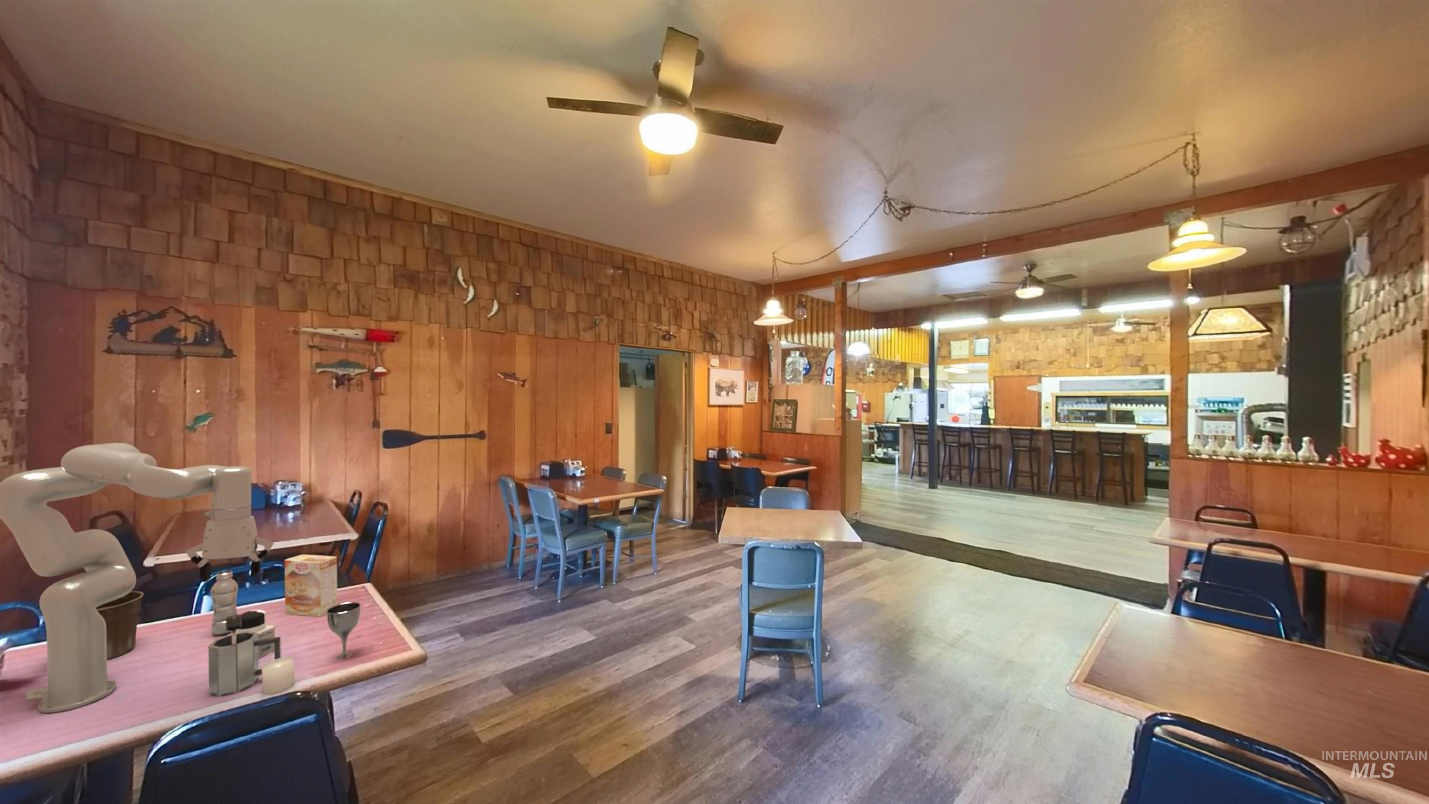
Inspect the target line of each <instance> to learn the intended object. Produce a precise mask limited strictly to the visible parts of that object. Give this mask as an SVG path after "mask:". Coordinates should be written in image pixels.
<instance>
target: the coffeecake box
mask: <svg viewBox="0 0 1429 804" xmlns="http://www.w3.org/2000/svg"><path fill="white" fill-rule="evenodd" d="M337 561H338V559H337V556H333V555H330V556H329V555H320V554H319V555H318V554H299V555H296V556H293V557H289V558H287V559H284V595H285V596H284V608H285V609H284V611H285V612H284V615H294V616H296V615H297V616H307V617H318V618H319V617H323V616H325V615H326V616H327V610H328V609H329V608H331V607H333V606H335V605H338V562H337Z"/></svg>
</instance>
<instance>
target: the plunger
mask: <svg viewBox="0 0 1429 804" xmlns="http://www.w3.org/2000/svg"><path fill="white" fill-rule="evenodd" d="M241 627H242V622H241V614H237V615H232V616H229V617H227V618H226V630H227V631H232V632H231V633H232V645H236V631H237V629H239V628H241Z"/></svg>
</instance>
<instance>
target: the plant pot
mask: <svg viewBox="0 0 1429 804" xmlns="http://www.w3.org/2000/svg"><path fill="white" fill-rule="evenodd" d="M143 597H144V592H142V591H137V590H136V591H135V590H133V591H131V592H129V593H128V594H127V595H125V596H123V597H121V598H118V599H116V600H113V601H111V602H108V603H105V604H103V605H101V606H98V607H96V610H97V611H98V613H99V614H100V615H101V616H102V617H103V618H104V620H105V622H106V636H107V661H108V660H112V659H114V658H117V657H120V656H122V655H124V654H127V653H128V652H129V650H133V649H134V648H135V647H136V639H137V628H138V619H139V618H138V617H139V610H140V609H141V604H142V603H141V602H142V599H143Z"/></svg>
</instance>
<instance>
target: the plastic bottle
mask: <svg viewBox="0 0 1429 804" xmlns="http://www.w3.org/2000/svg"><path fill="white" fill-rule="evenodd" d="M215 580H216V582H214V584H213V585H212V586H211V589H210V592H209V593H210V596H211V600H212V608H213V615H212V621H211V626H210V629H211V633H212V634H213V635H216V636H221V635H222V636H223V635H226V634H231V633H232V631H227V630H226V618H227V617H229V616H232V615H238V610H237V597H238V590H239V584H238V582H236V580H234V579H233V570H224V571H218V572H217V573H216V577H215Z"/></svg>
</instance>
